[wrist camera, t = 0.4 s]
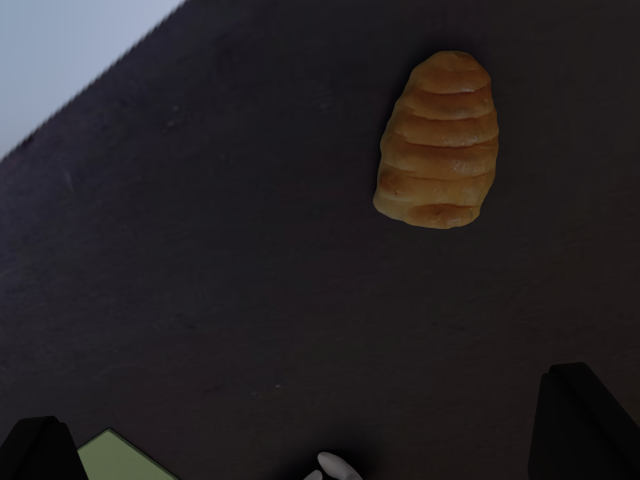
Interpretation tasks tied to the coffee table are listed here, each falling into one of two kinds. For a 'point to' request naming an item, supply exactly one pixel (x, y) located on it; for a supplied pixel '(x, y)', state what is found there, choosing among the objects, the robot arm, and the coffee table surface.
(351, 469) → the grey lumpy elongated piece
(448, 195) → the pastry
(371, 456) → the coffee table surface
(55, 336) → the coffee table surface
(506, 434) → the coffee table surface
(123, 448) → the cloth
